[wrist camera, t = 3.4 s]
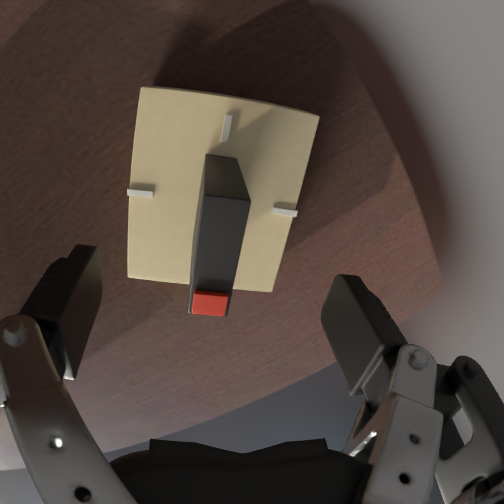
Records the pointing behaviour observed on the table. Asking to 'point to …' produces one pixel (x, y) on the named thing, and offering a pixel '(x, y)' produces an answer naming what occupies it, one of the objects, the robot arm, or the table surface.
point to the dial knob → (217, 235)
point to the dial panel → (190, 173)
